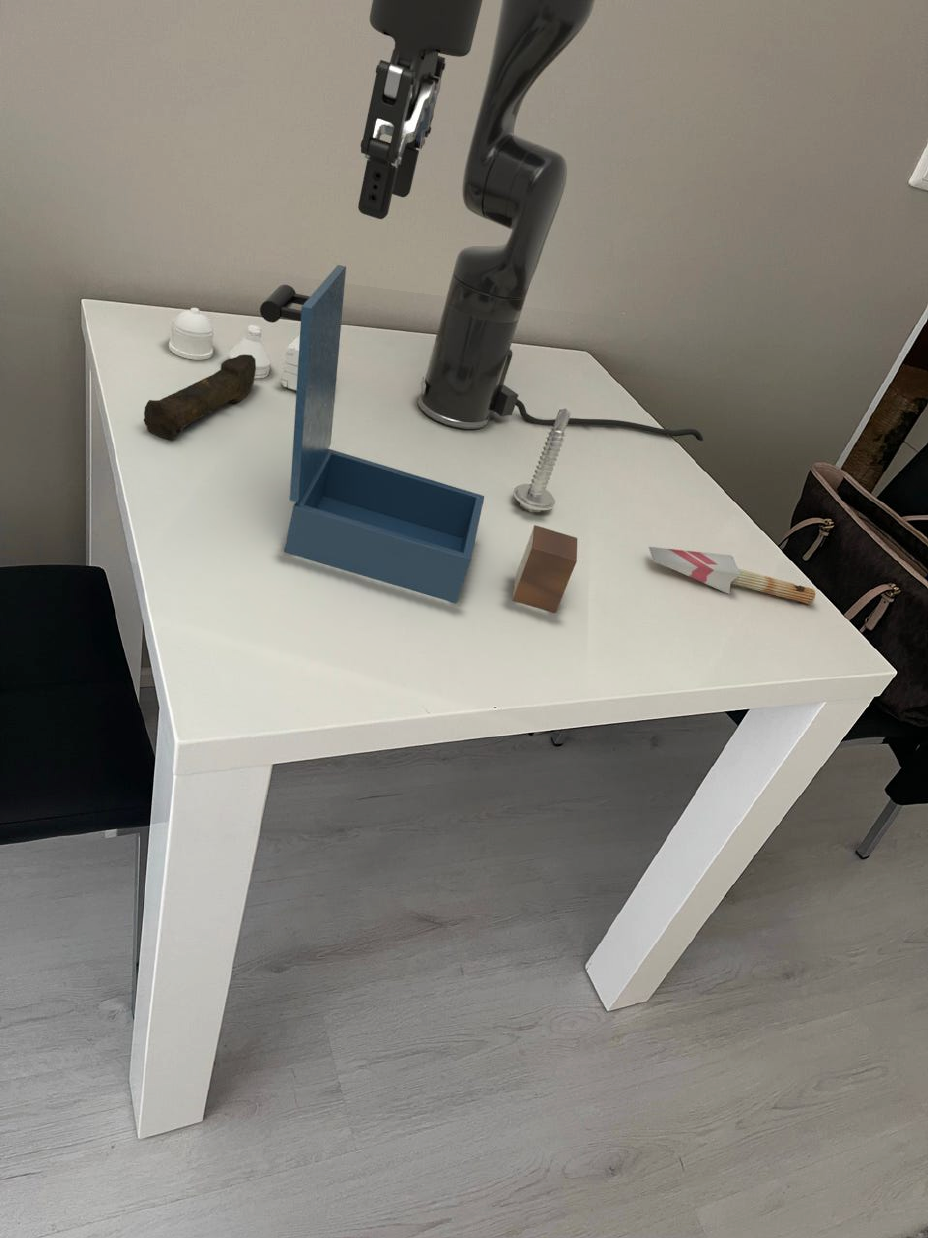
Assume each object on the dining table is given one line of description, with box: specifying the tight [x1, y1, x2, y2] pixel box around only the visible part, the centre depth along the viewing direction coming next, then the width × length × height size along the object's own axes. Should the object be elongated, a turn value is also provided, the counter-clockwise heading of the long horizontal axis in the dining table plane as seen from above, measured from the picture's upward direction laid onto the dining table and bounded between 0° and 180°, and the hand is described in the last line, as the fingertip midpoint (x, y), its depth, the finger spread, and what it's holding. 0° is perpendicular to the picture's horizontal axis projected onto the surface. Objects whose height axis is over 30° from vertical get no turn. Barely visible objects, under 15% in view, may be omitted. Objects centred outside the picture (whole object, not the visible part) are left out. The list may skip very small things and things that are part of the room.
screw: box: [512, 408, 571, 513], centre depth 106 cm, size 13×5×5 cm
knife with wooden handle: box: [648, 546, 816, 605], centre depth 108 cm, size 4×3×20 cm
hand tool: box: [143, 354, 256, 439], centre depth 106 cm, size 19×4×5 cm, turn 156°
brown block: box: [511, 524, 578, 614], centre depth 93 cm, size 4×4×7 cm
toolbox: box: [284, 448, 485, 604], centre depth 93 cm, size 17×13×6 cm
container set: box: [168, 307, 300, 391], centre depth 117 cm, size 20×5×6 cm, turn 80°
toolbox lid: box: [259, 264, 347, 503], centre depth 86 cm, size 18×13×5 cm
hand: (384, 204), depth 76 cm, fingers open, 8 cm apart
